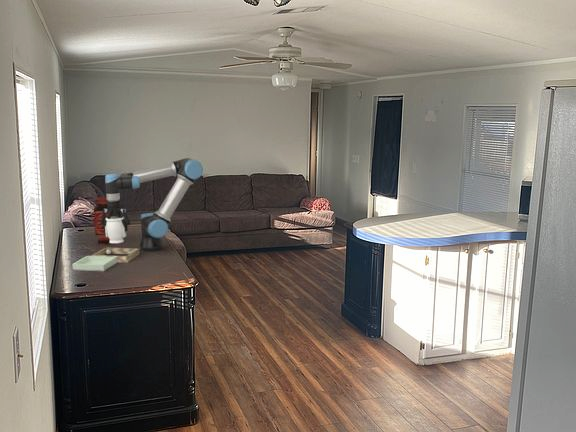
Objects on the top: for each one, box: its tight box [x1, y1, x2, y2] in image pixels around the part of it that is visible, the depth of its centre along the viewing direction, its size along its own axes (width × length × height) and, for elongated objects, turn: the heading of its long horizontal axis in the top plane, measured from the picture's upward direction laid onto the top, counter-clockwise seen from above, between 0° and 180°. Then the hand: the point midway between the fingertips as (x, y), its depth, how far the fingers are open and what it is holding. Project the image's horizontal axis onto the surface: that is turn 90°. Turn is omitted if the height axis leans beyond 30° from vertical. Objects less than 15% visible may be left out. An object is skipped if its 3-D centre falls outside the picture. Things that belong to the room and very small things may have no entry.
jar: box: [106, 216, 125, 245], centre depth 342 cm, size 11×10×15 cm
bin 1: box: [72, 255, 118, 272], centre depth 326 cm, size 18×18×4 cm
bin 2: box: [90, 247, 141, 264], centre depth 345 cm, size 22×20×4 cm
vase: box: [93, 196, 115, 246], centre depth 380 cm, size 14×14×30 cm
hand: (116, 236), depth 343 cm, fingers closed on jar, 10 cm apart
